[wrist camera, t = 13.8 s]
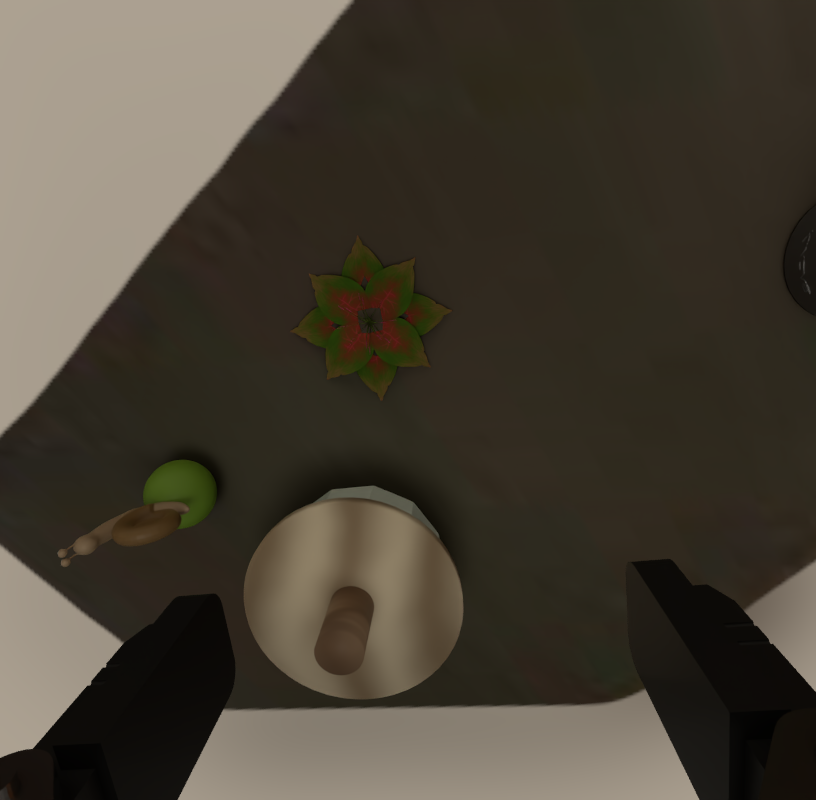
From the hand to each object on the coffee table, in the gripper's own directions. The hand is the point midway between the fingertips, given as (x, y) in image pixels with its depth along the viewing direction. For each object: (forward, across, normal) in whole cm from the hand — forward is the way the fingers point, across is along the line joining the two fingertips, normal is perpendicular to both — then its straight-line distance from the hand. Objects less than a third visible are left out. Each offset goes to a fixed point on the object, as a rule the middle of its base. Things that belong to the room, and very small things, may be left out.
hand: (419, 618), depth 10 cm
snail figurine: (+32, +22, +8) cm, 40 cm away
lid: (+26, +8, +16) cm, 31 cm away
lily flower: (+33, +5, -4) cm, 33 cm away
